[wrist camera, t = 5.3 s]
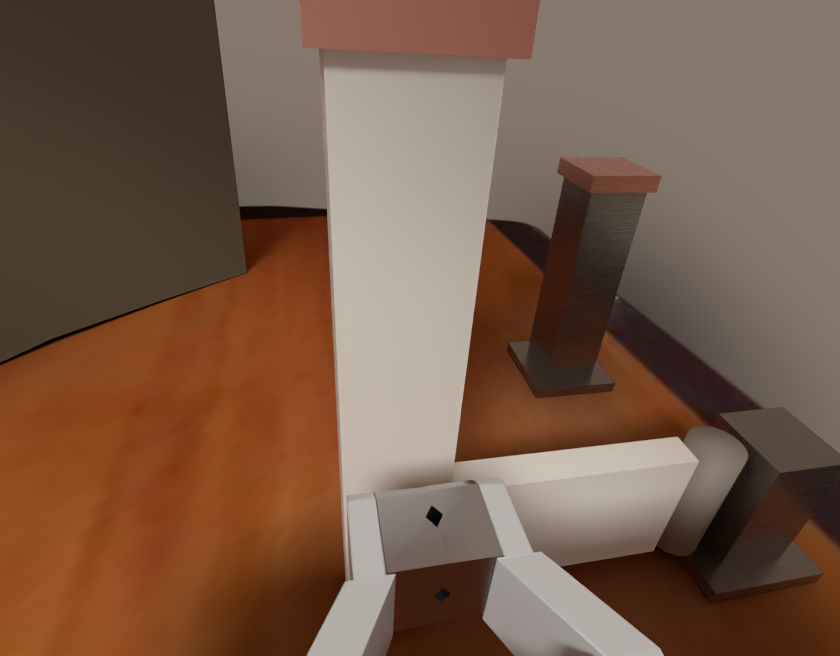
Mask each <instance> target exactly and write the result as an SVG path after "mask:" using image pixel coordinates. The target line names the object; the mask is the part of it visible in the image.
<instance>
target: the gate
mask: <svg viewBox="0 0 840 656" xmlns="http://www.w3.org/2000/svg"><path fill="white" fill-rule="evenodd" d="M539 3H540V0H300V11H301V28H302V42H303V48H317V49H319V58H320V78H321V99H322V119H323V139H324V160H325V180H326V200H327V221H328V241H329V262H330V282H331V303H332V323H333V344H334V364H335V384H336V405H337V425H338V446H339V466H340V486H341V507H342V527H343V548H344V563H345V578H346V581H349V580H350V569H349V553H348V529H347V495H351V494H360V493H369V492H373V493H374V492H379V491H390V490H400V489H411V488H422V487H424V486H430V485H437V484H444V483H452V482H459V481H467V480H473V481H474V480H480V479H487V478H495V477H500V478H501V479H502V480H503V482H504V484H505V486H506V489H507V491H508V493H509V496H510V498H511V500H512V503H513V505H514V507H515V510H516V512H517V514H518V517H519V519H520V521H521V524H522V526H523V528H524V531H525V533H526V535H527V538H528V540H529V542H530V545H531V547H532V549H533V552H539V551H542V552H543V553H544V554H545V555H546V556H548V557H549V558H550V559H551V560H553V561H554V562H555V563H556V564H557V565H559V566H560V567H561V566H567V565H573V564H579V563H585V562H591V561H597V560H603V559H609V558H615V557H621V556H627V555H633V554H639V553H645V552H651V551H654V549H655V547H656V546H658V547H659V548H660V549H662V550H663V551H665V552H667V553H670V554H672V555H676V556H687V555H690V554H692V553H693V552H694V551H695V549H696V547H697V545H698V544H699V542H700V540H701V539H702V537H703V535H704V533H705V532H706V530H707V528H708V527H709V525H710V523H711V521H712V520H713V518H714V516H715V515H716V513H717V511H718V510H719V508H720V506H721V504H722V503H723V501H724V499H725V498H726V496H727V494H728V492H729V491H730V489H731V487H732V486H733V484H734V482H735V480H736V479H737V477H738V475H739V474H740V472H741V470H742V468H743V467H744V465H745V463H746V462H747V460H748V453H747V450H746V448H745V447H744V446H743V444H742V443H741V442H740V441H739V440H737V439H736V438H735V437H733V436H732V435H730V434H729V433H727V432H725V431H722V430H720V429H717V428H714V427H710V426H696V427H693V428H691V429H690V430H689V431H688V433H687V435H686V437H685V439H684V441H683V442H682V441H681V440H680V439H679V438H678V437H670V438H661V439H653V440H644V441H635V442H627V443H618V444H610V445H601V446H592V447H584V448H575V449H566V450H558V451H549V452H540V453H532V454H523V455H514V456H506V457H497V458H488V459H480V460H471V461H463V462H454V461H455V454H456V446H457V438H458V431H459V423H460V415H461V408H462V400H463V392H464V385H465V377H466V369H467V362H468V354H469V346H470V339H471V331H472V323H473V315H474V308H475V300H476V292H477V285H478V277H479V269H480V262H481V254H482V246H483V239H484V231H485V223H486V216H487V207H488V200H489V193H490V185H491V177H492V169H493V161H494V153H495V146H496V138H497V131H498V123H499V115H500V108H501V100H502V92H503V85H504V77H505V69H506V62H507V58H513V59H531V56H532V49H533V43H534V36H535V30H536V23H537V17H538V10H539Z"/></svg>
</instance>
